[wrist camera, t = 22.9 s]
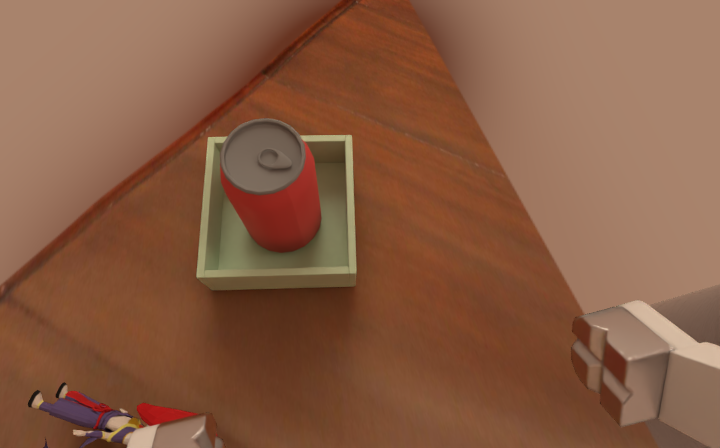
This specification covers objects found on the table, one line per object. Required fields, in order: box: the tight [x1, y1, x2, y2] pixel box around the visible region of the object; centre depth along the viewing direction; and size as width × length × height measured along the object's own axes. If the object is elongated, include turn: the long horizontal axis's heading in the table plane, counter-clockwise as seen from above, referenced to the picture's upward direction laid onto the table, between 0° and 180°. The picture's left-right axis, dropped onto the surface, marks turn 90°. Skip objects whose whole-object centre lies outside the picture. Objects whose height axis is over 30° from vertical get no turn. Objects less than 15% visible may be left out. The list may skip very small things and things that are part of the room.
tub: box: [196, 135, 357, 290], centre depth 40 cm, size 12×12×5 cm
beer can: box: [220, 118, 322, 253], centre depth 36 cm, size 7×7×12 cm
